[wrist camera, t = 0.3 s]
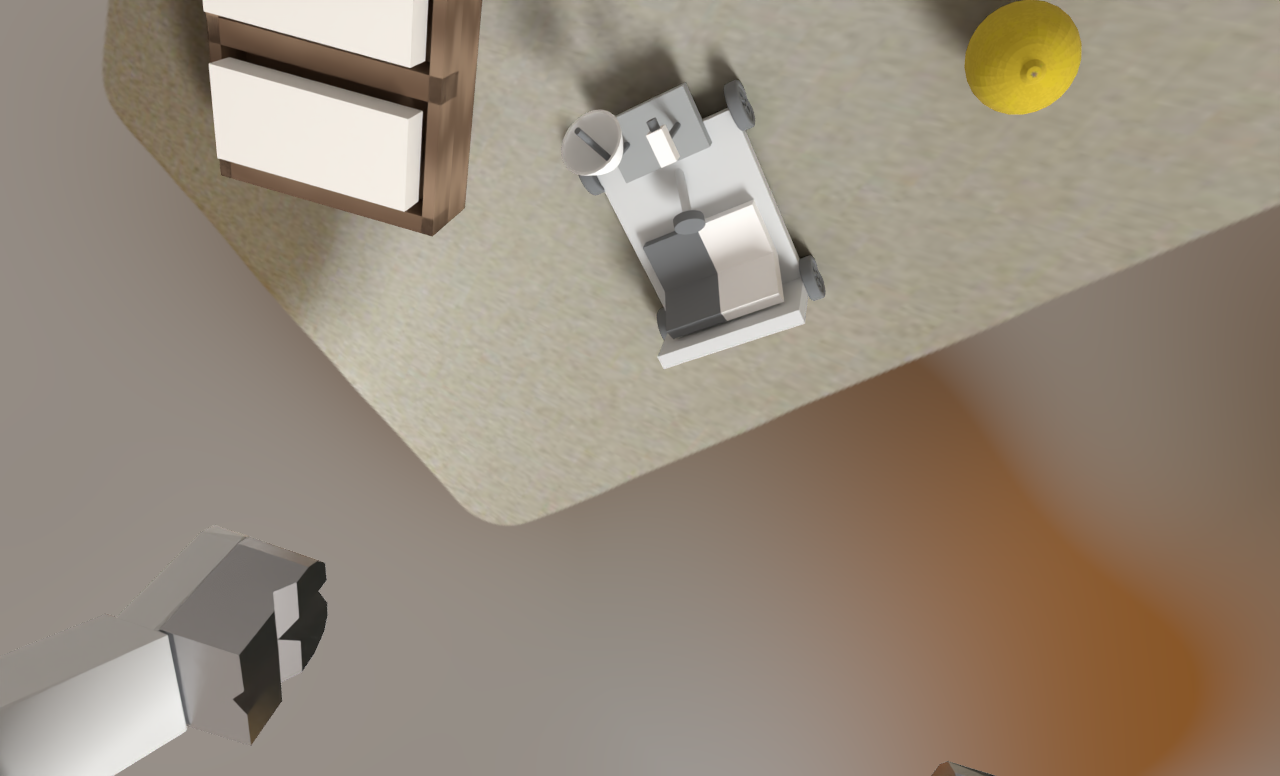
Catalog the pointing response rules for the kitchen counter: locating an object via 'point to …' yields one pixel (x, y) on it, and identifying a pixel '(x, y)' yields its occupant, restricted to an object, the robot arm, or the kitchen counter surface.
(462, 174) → the brown boxy piece
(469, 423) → the kitchen counter surface
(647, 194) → the toy car
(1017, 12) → the lemon
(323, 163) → the switch
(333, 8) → the switch
